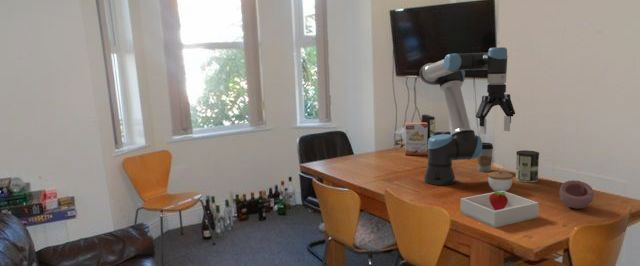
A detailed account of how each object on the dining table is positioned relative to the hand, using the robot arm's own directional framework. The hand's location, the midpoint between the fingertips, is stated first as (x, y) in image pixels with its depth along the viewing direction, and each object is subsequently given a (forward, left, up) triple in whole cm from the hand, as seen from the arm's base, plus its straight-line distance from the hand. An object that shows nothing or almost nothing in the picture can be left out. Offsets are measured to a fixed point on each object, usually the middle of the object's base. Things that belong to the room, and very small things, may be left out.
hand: (495, 132), depth 192 cm
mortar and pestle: (+28, +16, -29) cm, 43 cm away
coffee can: (-11, +33, -29) cm, 45 cm away
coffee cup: (-35, +28, -29) cm, 53 cm away
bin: (+20, -17, -29) cm, 39 cm away
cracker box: (-88, +21, -29) cm, 95 cm away
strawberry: (+20, -17, -28) cm, 38 cm away
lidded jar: (-4, +8, -29) cm, 30 cm away
